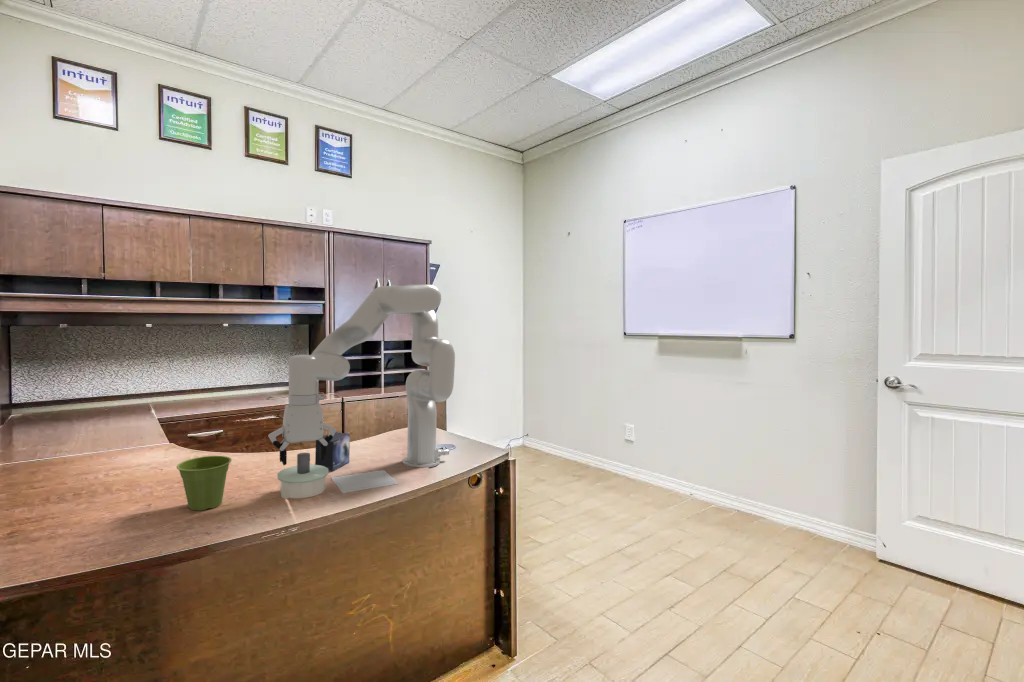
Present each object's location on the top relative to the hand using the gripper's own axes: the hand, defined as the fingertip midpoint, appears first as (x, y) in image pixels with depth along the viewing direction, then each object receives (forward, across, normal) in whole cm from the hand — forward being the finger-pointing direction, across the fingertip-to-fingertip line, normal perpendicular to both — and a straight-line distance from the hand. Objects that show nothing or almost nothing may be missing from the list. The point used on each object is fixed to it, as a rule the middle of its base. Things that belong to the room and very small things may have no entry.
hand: (303, 461), depth 135 cm
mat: (+9, -17, 0) cm, 19 cm away
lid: (+4, 0, 0) cm, 4 cm away
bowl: (+9, 0, 0) cm, 9 cm away
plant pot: (+9, +23, -2) cm, 25 cm away
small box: (+9, -12, -18) cm, 23 cm away
